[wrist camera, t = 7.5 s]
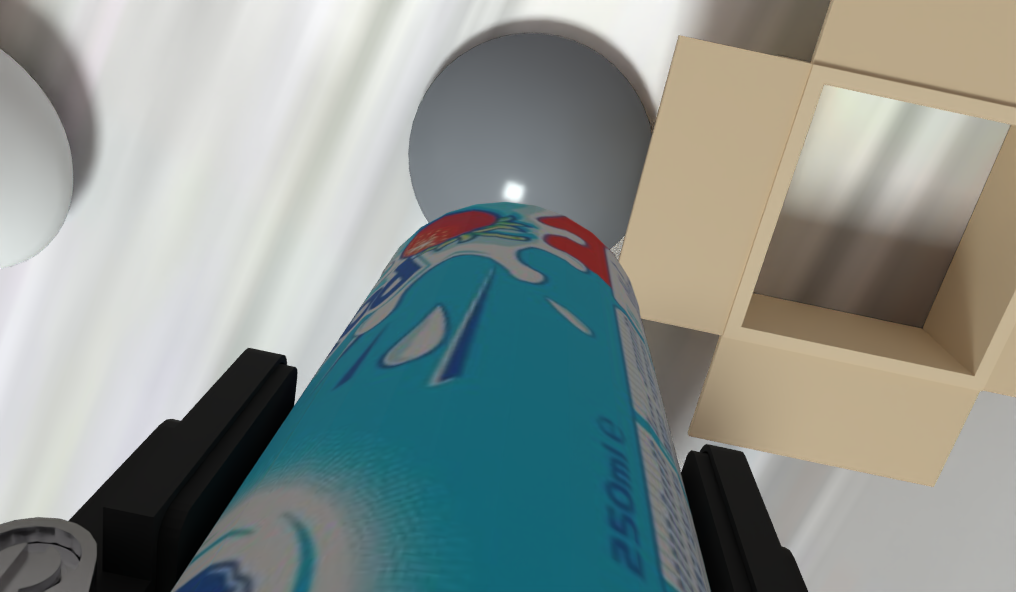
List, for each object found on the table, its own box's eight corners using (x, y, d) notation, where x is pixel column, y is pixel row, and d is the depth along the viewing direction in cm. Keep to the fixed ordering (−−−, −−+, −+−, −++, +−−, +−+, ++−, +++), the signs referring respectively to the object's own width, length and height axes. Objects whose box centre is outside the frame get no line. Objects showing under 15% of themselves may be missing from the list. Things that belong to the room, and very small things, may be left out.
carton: (1207, 12, 31) (1319, 14, 27) (986, 450, 39) (1044, 511, 34) (697, -99, 31) (720, -116, 26) (576, 364, 39) (578, 414, 34)
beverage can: (498, 134, 16) (111, 943, 2) (692, 315, 17) (1217, 1585, 3) (328, 321, 18) (-468, 1412, 4) (514, 474, 19) (386, 1727, 5)
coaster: (681, 62, 33) (683, 63, 33) (618, 294, 37) (619, 299, 37) (431, 8, 33) (429, 8, 33) (394, 247, 37) (392, 251, 37)
